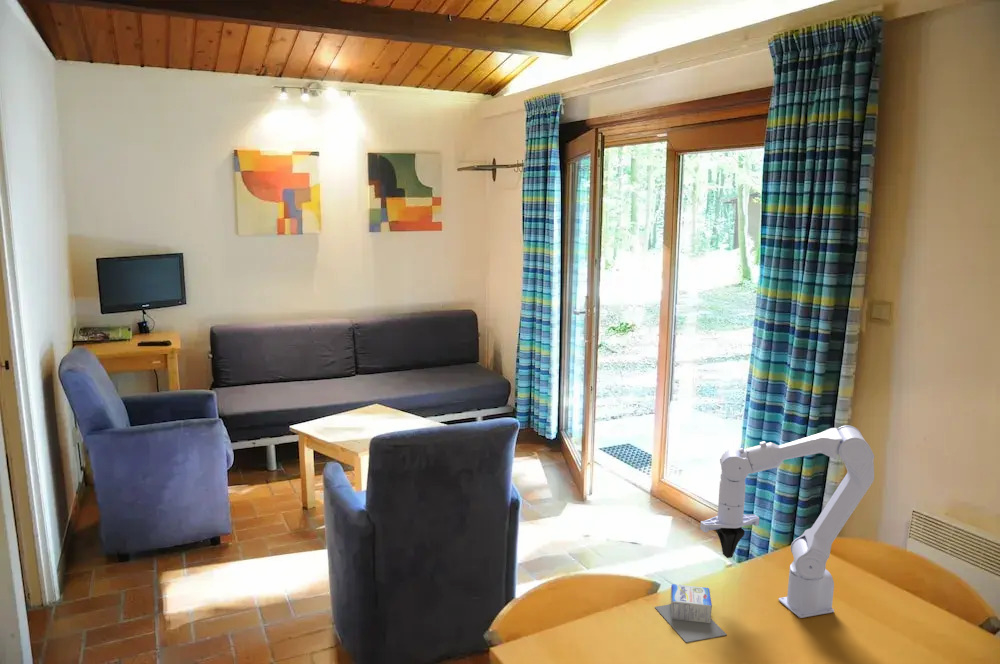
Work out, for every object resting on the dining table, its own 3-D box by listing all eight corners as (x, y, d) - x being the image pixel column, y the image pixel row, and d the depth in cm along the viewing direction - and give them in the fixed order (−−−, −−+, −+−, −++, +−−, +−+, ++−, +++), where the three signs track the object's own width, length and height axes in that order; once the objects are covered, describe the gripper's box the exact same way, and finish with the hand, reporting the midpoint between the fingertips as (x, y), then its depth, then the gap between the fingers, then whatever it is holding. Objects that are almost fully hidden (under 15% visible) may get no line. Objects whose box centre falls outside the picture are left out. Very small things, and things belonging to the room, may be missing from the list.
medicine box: (712, 605, 163) (672, 601, 164) (710, 624, 163) (670, 619, 165) (709, 587, 170) (671, 583, 172) (708, 605, 171) (670, 600, 173)
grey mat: (693, 601, 173) (693, 600, 173) (726, 635, 160) (726, 634, 160) (654, 607, 170) (654, 606, 170) (685, 642, 157) (685, 641, 157)
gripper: (748, 491, 176) (744, 544, 179) (694, 498, 172) (691, 551, 175) (766, 503, 170) (762, 557, 172) (711, 510, 166) (707, 566, 168)
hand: (727, 555), depth 173 cm, fingers closed
